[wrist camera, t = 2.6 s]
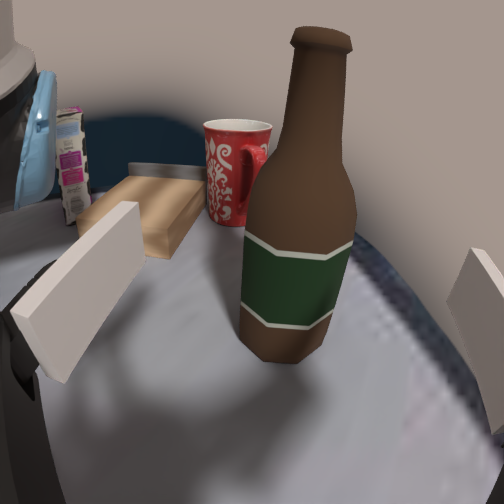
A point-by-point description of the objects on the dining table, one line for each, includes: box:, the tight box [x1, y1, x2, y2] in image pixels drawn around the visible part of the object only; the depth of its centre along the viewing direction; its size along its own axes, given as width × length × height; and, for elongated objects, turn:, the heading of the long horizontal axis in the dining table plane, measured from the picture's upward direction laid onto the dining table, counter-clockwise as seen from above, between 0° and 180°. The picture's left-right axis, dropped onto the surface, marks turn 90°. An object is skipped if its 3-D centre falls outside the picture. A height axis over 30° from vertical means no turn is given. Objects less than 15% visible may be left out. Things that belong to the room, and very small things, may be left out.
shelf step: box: [75, 163, 207, 259], centre depth 42 cm, size 13×16×6 cm
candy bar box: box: [55, 107, 92, 225], centre depth 42 cm, size 11×5×16 cm, turn 33°
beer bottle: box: [239, 26, 357, 364], centre depth 21 cm, size 8×8×24 cm
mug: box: [203, 119, 273, 227], centre depth 41 cm, size 13×9×14 cm
